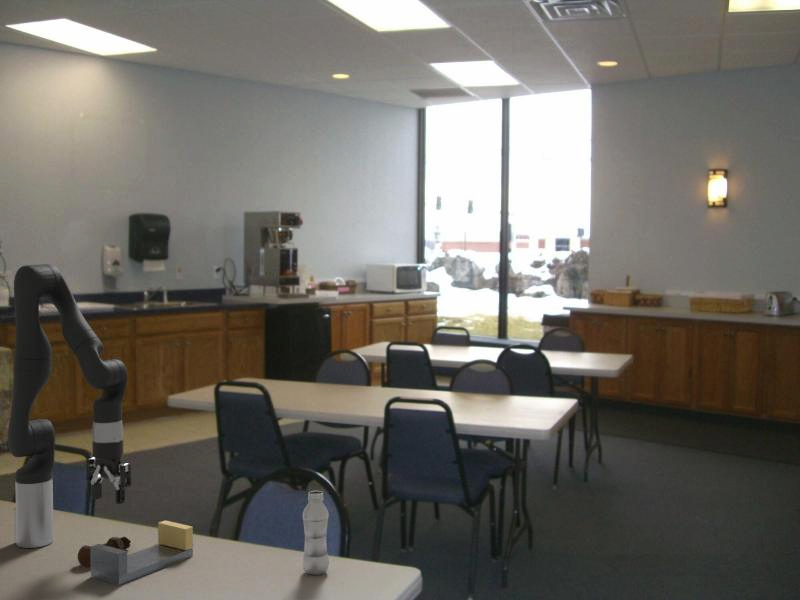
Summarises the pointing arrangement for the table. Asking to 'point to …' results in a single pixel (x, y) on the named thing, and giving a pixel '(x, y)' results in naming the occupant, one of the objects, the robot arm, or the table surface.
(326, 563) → the plastic bottle
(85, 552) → the bolt
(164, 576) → the table surface
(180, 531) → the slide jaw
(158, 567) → the plate
